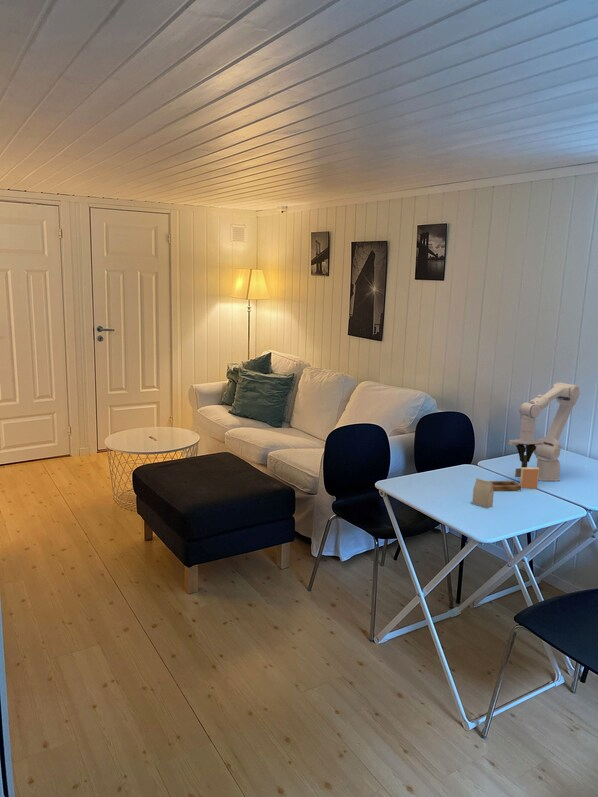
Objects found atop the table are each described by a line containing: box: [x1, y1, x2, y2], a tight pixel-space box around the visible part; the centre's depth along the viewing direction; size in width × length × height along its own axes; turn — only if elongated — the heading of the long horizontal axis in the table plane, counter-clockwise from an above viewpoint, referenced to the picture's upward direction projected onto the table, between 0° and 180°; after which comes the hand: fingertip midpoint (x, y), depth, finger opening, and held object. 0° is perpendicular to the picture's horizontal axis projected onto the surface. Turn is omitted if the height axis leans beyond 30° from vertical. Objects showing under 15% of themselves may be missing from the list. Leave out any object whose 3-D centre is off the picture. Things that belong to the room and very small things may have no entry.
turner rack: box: [488, 480, 522, 492], centre depth 262 cm, size 12×7×2 cm, turn 94°
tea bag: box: [471, 478, 495, 509], centre depth 242 cm, size 4×7×10 cm, turn 45°
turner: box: [514, 454, 528, 478], centre depth 267 cm, size 7×1×10 cm, turn 94°
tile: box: [519, 466, 539, 490], centre depth 262 cm, size 7×2×9 cm, turn 94°
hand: (524, 461), depth 267 cm, fingers closed on turner
